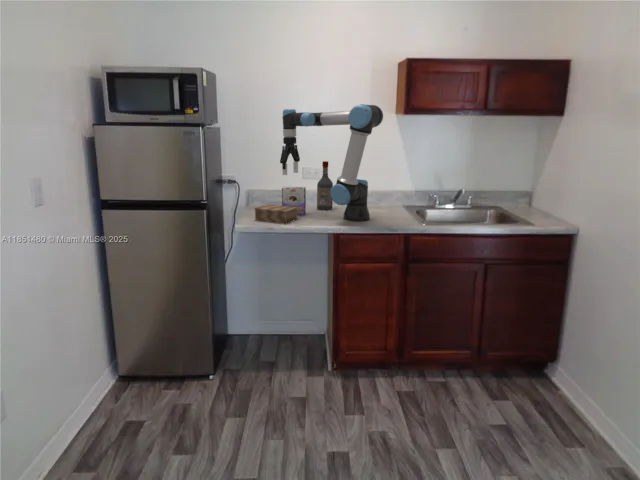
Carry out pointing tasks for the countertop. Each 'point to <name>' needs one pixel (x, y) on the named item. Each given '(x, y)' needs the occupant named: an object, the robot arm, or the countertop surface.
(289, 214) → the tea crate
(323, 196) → the liquor
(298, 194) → the candy box
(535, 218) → the countertop surface
